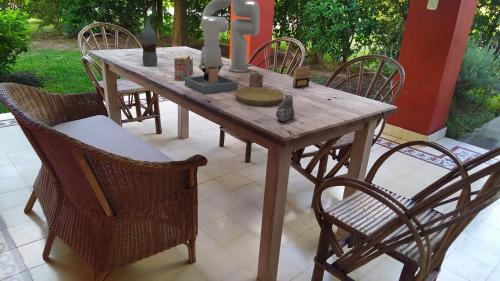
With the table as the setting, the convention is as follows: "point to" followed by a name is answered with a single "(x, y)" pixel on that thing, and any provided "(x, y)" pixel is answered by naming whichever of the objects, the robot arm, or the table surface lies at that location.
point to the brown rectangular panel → (301, 77)
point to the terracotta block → (212, 75)
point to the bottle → (149, 45)
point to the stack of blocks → (183, 66)
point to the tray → (211, 84)
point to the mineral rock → (286, 109)
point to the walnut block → (256, 80)
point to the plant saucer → (259, 96)
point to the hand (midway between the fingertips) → (211, 79)
